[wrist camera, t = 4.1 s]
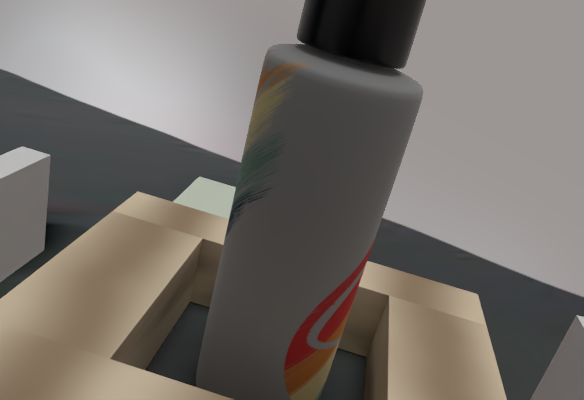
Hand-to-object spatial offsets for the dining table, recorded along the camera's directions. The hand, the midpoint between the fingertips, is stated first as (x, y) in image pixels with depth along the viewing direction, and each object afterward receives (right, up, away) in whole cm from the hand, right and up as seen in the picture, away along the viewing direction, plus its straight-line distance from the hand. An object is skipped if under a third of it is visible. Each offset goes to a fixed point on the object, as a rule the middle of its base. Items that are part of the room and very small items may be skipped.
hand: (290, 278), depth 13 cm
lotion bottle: (-2, -7, +12) cm, 14 cm away
